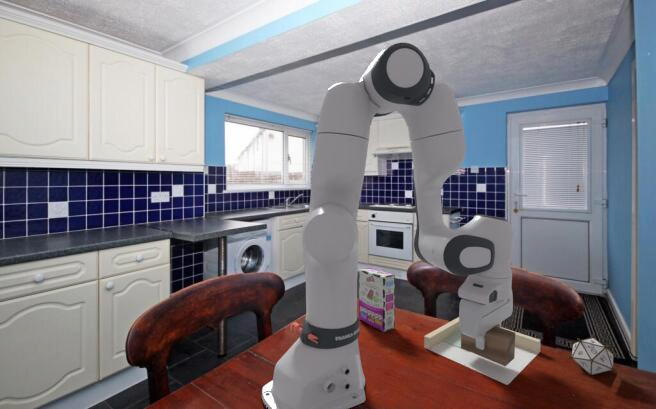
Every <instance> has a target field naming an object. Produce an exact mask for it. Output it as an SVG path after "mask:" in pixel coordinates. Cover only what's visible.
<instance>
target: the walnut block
mask: <svg viewBox="0 0 656 409" xmlns="http://www.w3.org/2000/svg"><path fill="white" fill-rule="evenodd" d="M503 328H504V327H502V328H500V327H497V326H494V327H493V328H491V329H490V330H489V331H487V332H486V333H485V336H484V338H485V340H486V341H487V344H486V348H484V349H483V350H481V349H479V348H477V347H476V340H475V338H472V337H469V336H467V335H464V334H462V332H461V348H462V349H465V350H467V351H469V352H472V353H474V354H477V355H479V356H481V357H484V358H486V359H489V360H491V361H493V362H496V363H498V364H501V365H503V366H507V365H508V364H509V363H510V362H511V361H512V360H513V359H514V355H515V332H516V331H515V332H512V331H513V330H511V331H509V330H510V329H508V330H506V329H507V328H505V329H503Z"/></svg>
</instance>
